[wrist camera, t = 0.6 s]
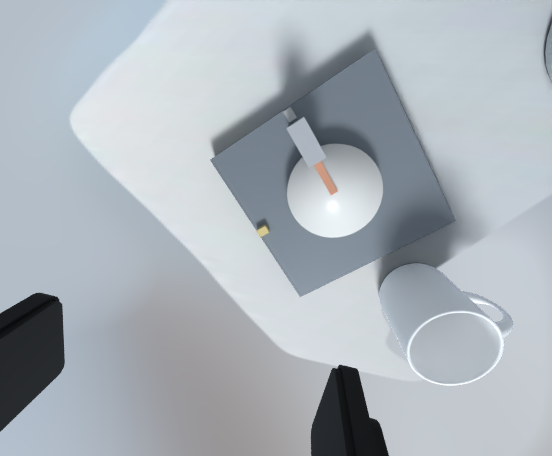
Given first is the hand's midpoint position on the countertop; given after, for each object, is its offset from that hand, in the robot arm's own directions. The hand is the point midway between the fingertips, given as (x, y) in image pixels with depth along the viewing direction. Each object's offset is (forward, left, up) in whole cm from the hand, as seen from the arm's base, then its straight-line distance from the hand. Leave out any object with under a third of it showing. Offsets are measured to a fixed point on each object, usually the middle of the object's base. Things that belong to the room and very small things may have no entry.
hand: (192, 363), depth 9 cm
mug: (-11, +20, -26) cm, 35 cm away
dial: (-7, +1, -24) cm, 25 cm away
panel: (-7, +2, -26) cm, 27 cm away
